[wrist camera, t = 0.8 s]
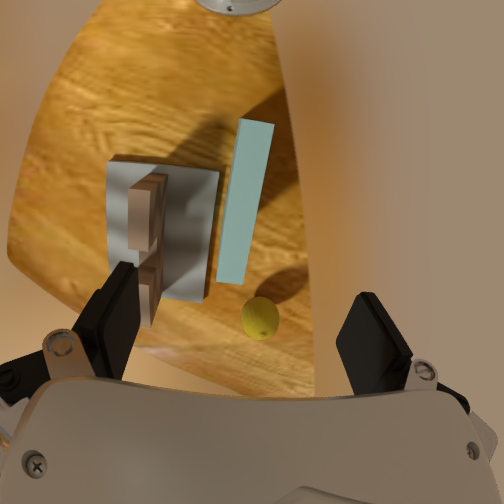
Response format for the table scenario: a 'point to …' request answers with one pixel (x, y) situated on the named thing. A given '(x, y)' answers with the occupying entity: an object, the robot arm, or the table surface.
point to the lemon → (260, 318)
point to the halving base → (178, 223)
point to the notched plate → (243, 198)
